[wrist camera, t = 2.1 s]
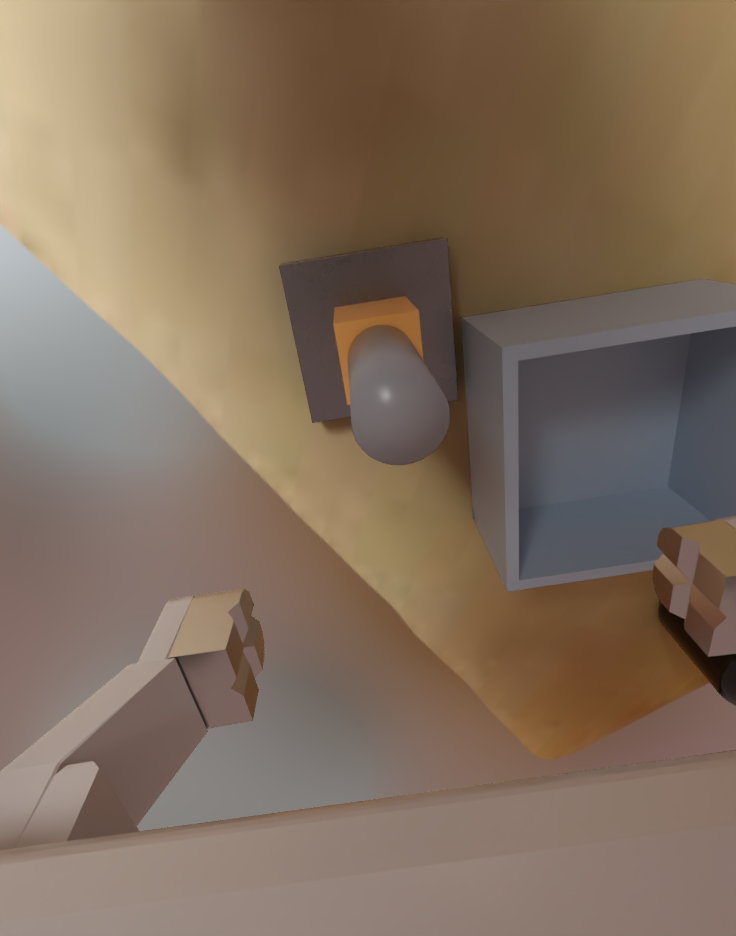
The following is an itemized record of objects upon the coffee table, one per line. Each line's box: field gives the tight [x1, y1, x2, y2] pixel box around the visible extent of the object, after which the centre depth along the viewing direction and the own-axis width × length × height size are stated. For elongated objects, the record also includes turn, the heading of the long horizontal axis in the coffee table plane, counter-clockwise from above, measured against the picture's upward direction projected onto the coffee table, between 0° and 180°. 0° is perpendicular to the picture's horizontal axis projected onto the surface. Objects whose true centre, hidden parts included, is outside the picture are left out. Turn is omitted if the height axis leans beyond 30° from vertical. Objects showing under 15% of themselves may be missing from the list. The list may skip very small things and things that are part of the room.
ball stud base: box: [279, 238, 458, 423], centre depth 30 cm, size 10×10×6 cm
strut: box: [333, 296, 450, 465], centre depth 24 cm, size 4×4×15 cm
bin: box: [462, 279, 736, 592], centre depth 32 cm, size 16×16×9 cm
